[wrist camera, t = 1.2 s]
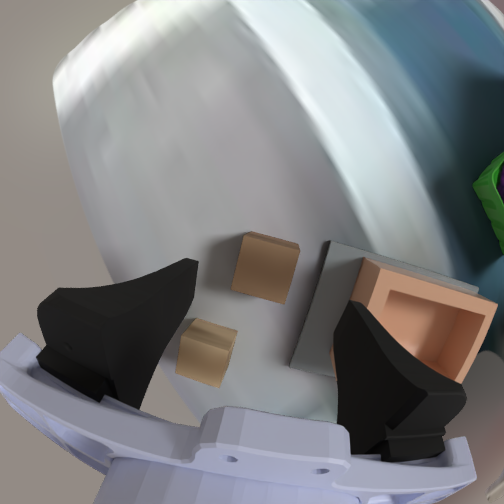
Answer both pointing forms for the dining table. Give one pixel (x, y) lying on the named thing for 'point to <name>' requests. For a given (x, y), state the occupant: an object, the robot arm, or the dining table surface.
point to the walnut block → (265, 267)
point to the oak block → (205, 352)
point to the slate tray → (339, 303)
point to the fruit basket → (493, 195)
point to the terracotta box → (425, 316)
